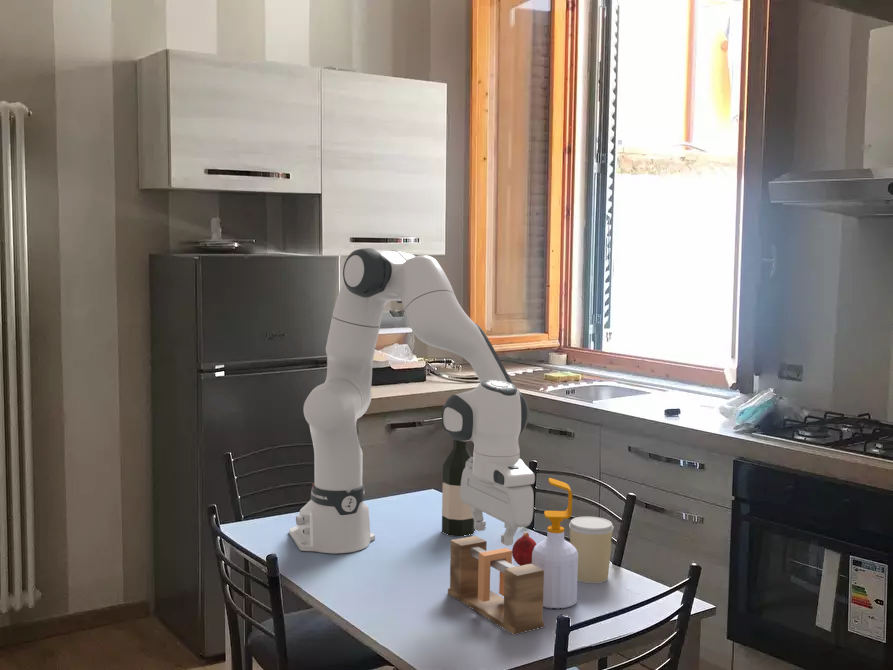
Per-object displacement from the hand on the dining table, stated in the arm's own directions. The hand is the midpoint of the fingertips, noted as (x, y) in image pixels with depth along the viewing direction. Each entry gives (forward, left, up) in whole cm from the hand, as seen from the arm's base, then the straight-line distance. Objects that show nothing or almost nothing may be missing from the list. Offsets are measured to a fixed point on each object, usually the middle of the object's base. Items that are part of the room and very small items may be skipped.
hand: (493, 536), depth 182 cm
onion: (-16, +19, -15) cm, 29 cm away
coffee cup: (-5, +28, -15) cm, 32 cm away
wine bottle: (-45, +20, -15) cm, 51 cm away
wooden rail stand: (0, 0, -15) cm, 15 cm away
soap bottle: (+2, +13, -15) cm, 20 cm away
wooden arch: (0, +1, -12) cm, 12 cm away
